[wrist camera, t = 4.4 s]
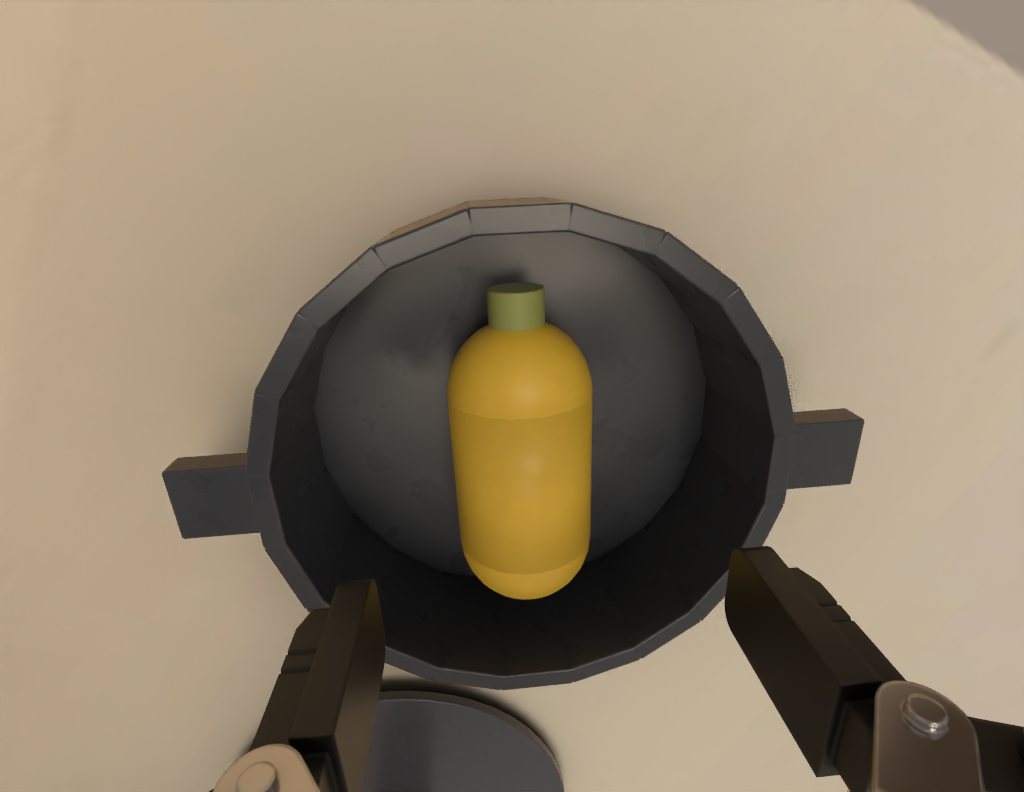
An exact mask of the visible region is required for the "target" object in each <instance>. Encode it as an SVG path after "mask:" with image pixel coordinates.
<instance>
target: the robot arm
mask: <svg viewBox="0 0 1024 792" xmlns="http://www.w3.org/2000/svg"><path fill="white" fill-rule="evenodd" d="M725 613H726V618H727V622H728V625H729V627H730V630H731V631H732V633H733V635H734V637H735V638H736V640H737V642H738V644H739V645H740V647H741V649H742V650H743V652H744V654H745V656H746V657H747V659H748V661H749V662H750V664H751V666H752V668H753V669H754V671H755V673H756V674H757V676H758V678H759V679H760V681H761V683H762V685H763V686H764V688H765V690H766V691H767V693H768V695H769V697H770V698H771V700H772V702H773V703H774V705H775V707H776V709H777V710H778V712H779V714H780V715H781V717H782V719H783V721H784V722H785V724H786V726H787V727H788V729H789V731H790V732H791V734H792V736H793V738H794V739H795V741H796V743H797V744H798V746H799V748H800V750H801V751H802V753H803V755H804V756H805V758H806V760H807V762H808V763H809V765H810V767H811V768H812V770H813V772H814V774H815V775H816V777H824V776H833V775H840V776H841V777H842V779H843V781H844V782H845V784H846V785H847V787H848V790H847V792H1024V727H1020V726H1015V725H1010V724H1004V723H999V722H993V721H988V720H983V719H977V718H972V717H968V716H966V714H965V713H964V712H963V711H962V710H961V709H960V708H959V707H958V706H957V705H956V704H954V703H953V702H952V701H950V700H949V699H948V698H946V697H945V696H943V695H941V694H940V693H938V692H936V691H934V690H932V689H930V688H928V687H926V686H923V685H920V684H917V683H913V682H908V681H906V680H905V679H904V678H903V676H902V675H901V674H900V673H899V672H898V671H897V670H896V668H895V667H894V666H893V665H892V664H891V663H890V662H889V660H888V659H887V658H886V657H885V656H884V655H883V654H882V653H881V651H880V650H879V649H878V648H877V647H876V646H875V645H874V643H873V642H872V641H871V640H870V639H869V638H868V637H867V635H866V634H865V633H864V632H863V631H862V630H861V629H860V627H859V626H858V625H857V624H856V623H855V622H854V621H851V619H850V616H849V615H848V614H847V613H846V611H845V610H844V609H843V608H842V607H841V606H840V605H837V601H836V600H835V599H834V598H833V597H832V595H831V594H830V593H829V592H828V591H827V590H826V589H825V587H824V586H823V585H822V584H821V583H820V582H818V581H817V580H815V579H814V578H812V577H811V576H809V575H808V574H806V573H805V572H803V571H802V570H800V569H799V568H788V567H787V565H786V564H785V563H784V562H783V561H782V559H781V558H780V557H779V556H778V555H777V553H776V552H775V551H774V550H773V549H772V548H771V547H768V546H763V547H752V548H740V549H734V550H733V551H732V554H731V558H730V565H729V573H728V580H727V588H726V595H725ZM384 662H385V631H384V625H383V619H382V614H381V608H380V602H379V596H378V590H377V585H376V582H375V580H374V579H368V580H356V581H345V582H339V583H338V585H337V587H336V590H335V593H334V596H333V599H332V603H331V606H330V608H322V609H313V610H312V612H311V613H310V614H309V615H308V616H307V617H306V618H305V620H304V621H303V622H302V623H301V624H300V625H299V626H298V628H297V629H296V631H295V634H294V636H293V639H292V642H291V644H290V647H289V650H288V655H286V657H285V660H284V663H283V665H282V668H281V674H279V676H278V678H277V681H276V684H275V686H274V689H273V691H272V694H271V697H270V699H269V702H268V705H267V707H266V710H265V712H264V715H263V718H262V720H261V723H260V726H259V728H258V731H257V733H256V736H255V739H254V741H253V744H252V746H251V748H250V750H249V752H248V753H247V754H245V755H243V756H242V757H241V758H239V759H238V760H237V761H236V762H234V763H233V764H232V765H231V766H230V767H229V768H228V769H227V770H226V772H225V773H224V774H223V775H222V777H221V778H220V779H219V781H218V783H217V784H216V786H215V788H214V789H212V790H211V791H209V792H362V790H363V784H364V778H365V772H366V766H367V761H368V755H369V749H370V743H371V737H372V732H373V726H374V720H375V714H376V708H377V703H378V697H379V691H380V685H381V679H382V674H383V668H384Z"/></svg>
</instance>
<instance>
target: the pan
mask: <svg viewBox="0 0 1024 792" xmlns="http://www.w3.org/2000/svg"><path fill="white" fill-rule="evenodd" d="M518 282H525V283H536V284H540V285H543V286H544V288H545V322H547V323H549V324H551V325H554V326H556V327H557V328H559V329H560V330H561V331H563V332H564V333H566V334H567V335H568V336H569V337H570V338H571V339H572V340H573V341H574V342H575V344H576V345H577V346H578V347H579V348H580V350H581V352H582V354H583V355H584V357H585V359H586V362H587V365H588V368H589V371H590V374H591V379H592V460H591V534H590V541H589V548H588V553H587V555H586V558H585V560H584V562H583V565H582V567H581V569H580V570H579V571H578V572H577V574H576V575H575V576H574V578H573V579H572V580H571V581H570V582H569V583H568V584H567V585H565V586H564V587H563V588H561V589H560V590H558V591H556V592H554V593H553V594H551V595H548V596H545V597H542V598H537V599H525V600H522V599H514V598H510V597H506V596H503V595H501V594H499V593H497V592H495V591H493V590H492V589H490V588H489V587H487V586H486V585H485V584H483V583H482V581H481V580H480V579H479V578H478V577H477V576H476V575H475V574H474V572H473V571H472V570H471V568H470V566H469V564H468V562H467V560H466V558H465V556H464V553H463V548H462V543H461V537H460V526H459V516H458V505H457V494H456V484H455V473H454V463H453V452H452V441H451V431H450V420H449V409H448V399H447V381H448V376H449V372H450V368H451V365H452V363H453V361H454V358H455V356H456V354H457V352H458V351H459V349H460V348H461V347H462V345H463V344H464V343H465V341H466V340H467V339H468V338H469V337H471V336H472V335H473V334H474V333H475V332H476V331H477V330H479V329H481V328H482V327H484V326H486V325H488V308H487V288H489V287H491V286H494V285H498V284H504V283H518ZM863 425H864V419H862V418H861V417H859V416H857V415H855V414H854V413H852V412H850V411H849V410H847V409H845V408H843V409H829V410H816V411H802V412H793V410H792V405H791V399H790V394H789V388H788V383H787V377H786V372H785V366H784V361H783V357H782V356H781V353H780V352H779V350H778V348H777V347H776V345H775V343H774V342H773V340H772V339H771V337H770V335H769V334H768V332H767V330H766V329H765V327H764V326H763V324H762V322H761V321H760V319H759V317H758V316H757V314H756V313H755V311H754V309H753V308H752V306H751V304H750V303H749V301H748V300H747V298H746V296H745V295H744V293H743V291H742V290H741V288H740V287H738V286H737V284H736V283H735V282H734V281H732V280H731V279H730V278H729V277H727V276H726V275H725V274H723V273H722V272H721V271H719V270H718V269H717V268H715V267H714V266H713V265H711V264H710V263H709V262H707V261H706V260H705V259H703V258H702V257H701V256H699V255H698V254H697V253H695V252H694V251H693V250H691V249H690V248H689V247H688V246H686V245H685V244H684V243H682V242H681V241H680V240H678V239H677V238H676V237H674V236H673V235H672V234H670V233H669V232H666V231H665V230H663V229H660V228H656V227H653V226H650V225H646V224H643V223H640V222H636V221H633V220H630V219H626V218H623V217H620V216H616V215H613V214H610V213H606V212H603V211H600V210H596V209H593V208H590V207H586V206H583V205H580V204H576V203H572V202H566V201H561V200H555V199H550V198H523V199H500V200H481V201H468V202H464V203H461V204H459V205H456V206H454V207H451V208H449V209H446V210H444V211H441V212H439V213H437V214H434V215H432V216H429V217H427V218H424V219H422V220H419V221H417V222H414V223H412V224H409V225H407V226H404V227H402V228H399V229H397V230H395V231H393V232H392V233H390V234H389V235H387V236H386V237H384V238H383V239H382V240H380V241H379V242H377V243H376V244H374V245H373V246H371V247H370V248H368V249H367V250H366V251H365V252H364V253H363V254H362V255H361V256H359V257H358V258H357V259H356V260H355V261H354V262H353V263H351V264H350V265H349V266H348V267H347V268H346V269H345V270H344V271H342V272H341V273H340V274H339V275H338V276H337V277H336V278H334V279H333V280H332V281H331V282H330V283H329V284H328V285H326V286H325V287H324V288H323V289H322V290H321V291H320V292H319V293H317V294H316V295H315V296H314V297H313V298H312V299H311V300H309V301H308V302H307V303H306V304H305V305H304V306H303V307H302V308H300V309H299V311H298V312H297V313H296V314H295V316H294V318H293V320H292V322H291V324H290V326H289V327H288V329H287V331H286V333H285V335H284V337H283V339H282V341H281V342H280V344H279V346H278V348H277V350H276V352H275V354H274V356H273V357H272V359H271V361H270V363H269V365H268V367H267V369H266V371H265V372H264V374H263V376H262V378H261V380H260V382H259V384H258V385H257V387H256V389H255V393H254V400H253V409H252V417H251V425H250V434H249V442H248V451H247V453H237V454H224V455H210V456H197V457H183V458H177V459H176V460H175V461H174V462H172V463H171V464H170V465H169V466H168V467H167V468H166V469H165V470H164V471H163V472H162V477H163V480H164V483H165V486H166V489H167V492H168V495H169V498H170V501H171V504H172V507H173V510H174V514H175V517H176V520H177V523H178V526H179V529H180V532H181V535H182V538H184V539H188V538H200V537H212V536H224V535H236V534H248V533H260V534H261V538H262V542H263V546H264V547H265V550H266V552H267V554H268V555H269V556H270V558H271V559H272V561H273V562H274V564H275V565H276V567H277V568H278V570H279V571H280V573H281V574H282V575H283V577H284V578H285V580H286V581H287V583H288V584H289V586H290V587H291V589H292V590H293V591H294V593H295V594H296V596H297V597H298V599H299V600H300V602H301V603H302V605H303V606H304V608H306V609H307V610H308V612H310V613H311V612H312V610H313V609H322V608H330V606H331V603H332V599H333V596H334V593H335V590H336V587H337V585H338V583H339V582H345V581H356V580H368V579H374V580H375V582H376V585H377V590H378V596H379V602H380V608H381V614H382V619H383V625H384V631H385V663H387V664H390V665H392V666H395V667H397V668H400V669H402V670H405V671H407V672H410V673H412V674H415V675H417V676H420V677H422V678H425V679H427V680H430V679H431V681H436V682H444V683H451V684H459V685H466V686H474V687H482V688H489V689H497V690H501V689H502V690H509V689H519V688H529V687H538V686H548V685H558V684H568V683H572V681H573V682H576V681H579V680H582V679H585V678H588V677H591V676H594V675H597V674H600V673H602V672H605V671H608V670H611V669H614V668H617V667H620V666H623V665H626V664H629V663H632V662H635V661H638V660H639V659H640V658H644V657H645V656H647V655H648V654H650V653H652V652H653V651H655V650H656V649H658V648H659V647H661V646H663V645H664V644H666V643H667V642H669V641H671V640H672V639H674V638H675V637H677V636H678V635H680V634H682V633H683V632H685V631H686V630H688V629H690V628H691V627H693V626H694V625H696V624H697V623H699V622H700V620H701V621H702V620H703V619H704V618H705V617H706V616H707V615H708V614H709V613H710V612H711V611H712V610H713V609H714V607H715V606H716V605H717V604H718V603H719V602H720V601H721V600H722V599H723V598H724V597H725V595H726V588H727V580H728V573H729V565H730V558H731V554H732V551H733V550H734V549H740V548H752V547H762V546H763V544H764V542H765V540H766V538H767V536H768V534H769V532H770V530H771V529H772V527H773V525H774V523H775V521H776V519H777V517H778V515H779V513H780V511H781V509H782V507H783V504H784V502H785V496H786V490H787V489H795V488H807V487H819V486H831V485H843V484H850V483H851V480H852V476H853V471H854V466H855V462H856V457H857V453H858V448H859V444H860V439H861V434H862V430H863Z"/></svg>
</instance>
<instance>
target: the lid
mask: <svg viewBox="0 0 1024 792" xmlns="http://www.w3.org/2000/svg"><path fill="white" fill-rule="evenodd" d="M362 792H564V786H563V780H562V776H561V773H560V770H559V767H558V764H557V762H556V761H555V759H554V757H553V755H552V753H551V752H550V750H549V749H548V748H547V746H546V745H545V744H544V743H543V741H542V740H541V739H540V738H539V737H538V736H537V735H536V734H535V733H534V732H532V731H531V730H530V729H529V728H528V727H527V726H525V725H524V724H522V723H521V722H519V721H518V720H516V719H515V718H513V717H512V716H510V715H508V714H506V713H504V712H502V711H500V710H498V709H496V708H494V707H491V706H489V705H486V704H483V703H480V702H478V701H475V700H471V699H467V698H463V697H459V696H455V695H450V694H443V693H436V692H428V691H405V690H403V691H385V692H379V697H378V703H377V708H376V714H375V720H374V726H373V732H372V737H371V743H370V749H369V755H368V761H367V766H366V772H365V778H364V784H363V790H362Z"/></svg>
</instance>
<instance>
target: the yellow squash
mask: <svg viewBox="0 0 1024 792" xmlns="http://www.w3.org/2000/svg"><path fill="white" fill-rule="evenodd" d="M487 308H488V325H486V326H484V327H482V328H481V329H479V330H477V331H476V332H475V333H474V334H473V335H472V336H471V337H469V338H468V339H467V340H466V341H465V343H464V344H463V345H462V347H461V348H460V349H459V351H458V352H457V354H456V356H455V358H454V361H453V363H452V365H451V368H450V372H449V376H448V381H447V399H448V409H449V420H450V431H451V441H452V452H453V463H454V473H455V484H456V494H457V505H458V516H459V526H460V537H461V543H462V548H463V553H464V556H465V558H466V560H467V562H468V564H469V566H470V568H471V570H472V571H473V572H474V574H475V575H476V576H477V577H478V578H479V579H480V580H481V581H482V583H483V584H485V585H486V586H487V587H489V588H490V589H492V590H493V591H495V592H497V593H499V594H501V595H503V596H506V597H510V598H514V599H522V600H525V599H537V598H542V597H545V596H548V595H551V594H553V593H554V592H556V591H558V590H560V589H561V588H563V587H564V586H565V585H567V584H568V583H569V582H570V581H571V580H572V579H573V578H574V576H575V575H576V574H577V572H578V571H579V570H580V569H581V567H582V565H583V562H584V560H585V558H586V555H587V553H588V548H589V541H590V534H591V460H592V379H591V374H590V371H589V368H588V365H587V362H586V359H585V357H584V355H583V354H582V352H581V350H580V348H579V347H578V346H577V345H576V344H575V342H574V341H573V340H572V339H571V338H570V337H569V336H568V335H567V334H566V333H564V332H563V331H561V330H560V329H559V328H557V327H556V326H554V325H551V324H549V323H547V322H545V288H544V286H543V285H540V284H536V283H525V282H518V283H504V284H498V285H494V286H491V287H489V288H487Z"/></svg>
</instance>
